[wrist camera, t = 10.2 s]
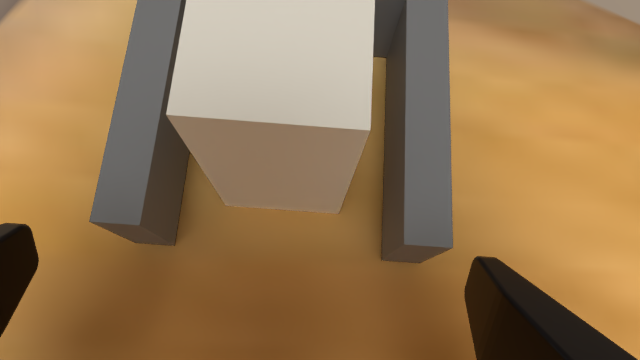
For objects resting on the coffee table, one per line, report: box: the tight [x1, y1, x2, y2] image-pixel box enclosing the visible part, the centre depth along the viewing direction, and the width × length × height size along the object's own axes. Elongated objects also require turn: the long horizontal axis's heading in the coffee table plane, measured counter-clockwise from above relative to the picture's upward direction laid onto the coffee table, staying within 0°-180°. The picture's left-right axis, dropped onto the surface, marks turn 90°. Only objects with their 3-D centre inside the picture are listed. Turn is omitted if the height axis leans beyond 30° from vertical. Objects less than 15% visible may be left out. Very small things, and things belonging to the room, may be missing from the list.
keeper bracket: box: [89, 0, 453, 263], centre depth 17 cm, size 10×11×4 cm
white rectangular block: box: [166, 0, 375, 214], centre depth 15 cm, size 4×4×8 cm
